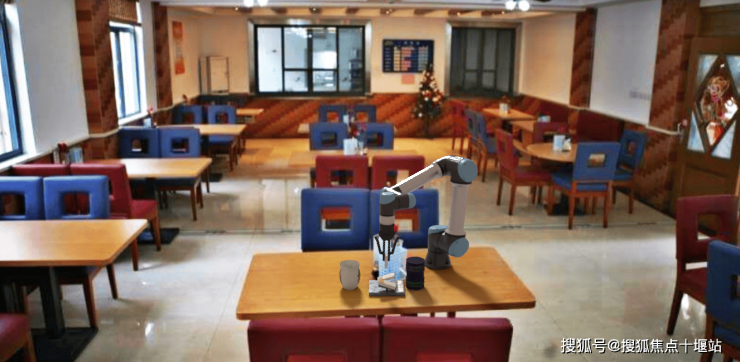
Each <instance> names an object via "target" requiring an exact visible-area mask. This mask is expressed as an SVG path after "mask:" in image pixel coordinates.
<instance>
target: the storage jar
mask: <svg viewBox="0 0 740 362" xmlns="http://www.w3.org/2000/svg"><path fill="white" fill-rule="evenodd" d="M425 267H426V266H425V258H424V257H421V256H409V257H407V258H406V259H405V271H406V272H405V273H406V276H405V288H406V289H407V290H409V291H413V290H414V291H417V292H418V291H422V290H424V289H425V281H426V280H425V270H426V268H425Z"/></svg>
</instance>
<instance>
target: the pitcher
mask: <svg viewBox="0 0 740 362" xmlns="http://www.w3.org/2000/svg"><path fill="white" fill-rule="evenodd" d="M360 265H361V263H360V262H359V261H358V260H356V259H355V260H354V259H346V260H343V261H342V260H341V262H340V263H339V267H340V269H339V273H338V274H339V276H338V277H339V281H340V284H341V287H343V289H345V290H346V291H353V290H355V289H356V288H357V287H358V285H359V284H360V282H361V269H360Z"/></svg>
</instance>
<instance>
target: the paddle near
mask: <svg viewBox="0 0 740 362" xmlns="http://www.w3.org/2000/svg"><path fill="white" fill-rule="evenodd" d="M377 280H378V285H381V286H384V287H388V288H391V289H394V290H395V288H396V284H395V283H393V282H390V281H386V280H383V279H380V278H379V279H378V278H377Z"/></svg>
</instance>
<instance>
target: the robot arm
mask: <svg viewBox="0 0 740 362" xmlns="http://www.w3.org/2000/svg"><path fill="white" fill-rule="evenodd" d="M445 176H446V177H449V178H450V179H449V183H450V184H451V185H452V186H451V194H450V202H449V203H450V204H449V212H448V213H449V215H448V222H447V225H445V224H438V225H437V224H436V225H435V224H434V225H432V226H430V227H428V232H427V251H426V252H427V253H426V255H425V258H424V259H425V267H426V268H428V269H432V270H447V269H449V268H450V267H451V266H452V260H451V257H454V258H461V257H463V256H465V254H467V252H468V250H469V248H470V242H469V240H468V239H467V238H466V237H467V231H466V230H465V229H464V227H465V221H466V220H465V219H466V213H467V212H466V210H467V203H468V195H469V187H470V186H471V185H472V184H473V182H474V181H475V180H476V178H477V176H478V166H477V164H476V162H475V161H474V160H472V159H469V158H468V157H463V156H459V155H455V154H449V155H445V156H442V157H440V158H438V159H436V160H433V162H431V163H430V165H429V166H427V167H425V168H424V169H422V170H420V171H418V172H416V173H414V174H412V175H411V176H409V177H407V178H405V179H403V180H402V181H400V182H398V183H396V184H395V185H392V186H391V187H390V186H384V187H382V188H381V189H380V192H379V226H378V227H379V231H378V233H377V234H374V236H373V239H374V240H375V241H376V245H377V251H378V254H379V255H382V262H384V269H385V268H386V269H387V268H389V267H388V266H389V265H388V262H390V261H391V255H394V253H395V250H396V247H397V242H398V240H399V239H400V236H399V234H396V232H395V223H396V222H395V219H396V217H395V214H396V213H395V212H396V211H401V210H408V209H413V208H414V207H415V206H416V205H417V199H416V196H415V194H414V193H412V192H414V191H415V190H417V189H419V188H421V187H423V186H425V185H427V184H428V183H430V182H432V181H434V180H436V179H437V178H438V179H441V178H444V177H445ZM379 238H380V239H379ZM393 239H394V241H393V243H392V248H391V241H392V240H393ZM380 240H382V247H381V243H380ZM386 241H387V253H386ZM381 248H382V249H381ZM450 256H451V257H450Z"/></svg>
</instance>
